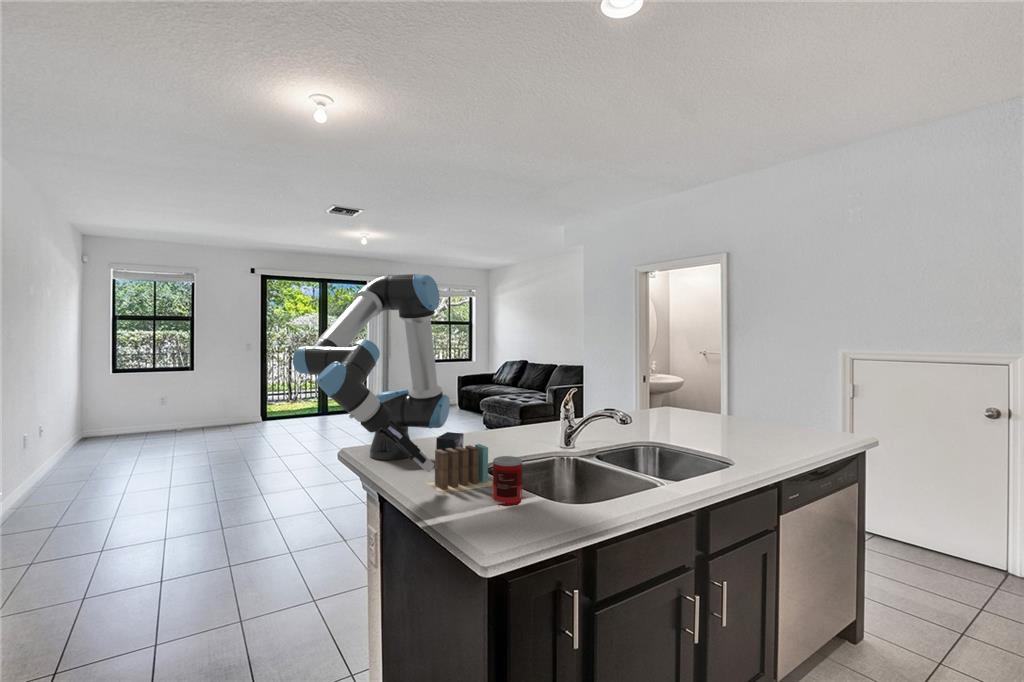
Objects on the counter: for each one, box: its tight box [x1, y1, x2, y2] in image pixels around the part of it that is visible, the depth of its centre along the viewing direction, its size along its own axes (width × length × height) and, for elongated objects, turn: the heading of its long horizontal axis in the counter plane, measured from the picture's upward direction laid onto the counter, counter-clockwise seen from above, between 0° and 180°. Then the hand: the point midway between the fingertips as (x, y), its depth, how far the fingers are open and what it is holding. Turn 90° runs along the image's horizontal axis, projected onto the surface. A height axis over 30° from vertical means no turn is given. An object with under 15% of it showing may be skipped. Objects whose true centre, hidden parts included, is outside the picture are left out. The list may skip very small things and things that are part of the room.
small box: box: [435, 431, 464, 451], centre depth 161 cm, size 11×6×10 cm, turn 168°
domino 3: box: [455, 446, 469, 486], centre depth 140 cm, size 5×2×10 cm, turn 33°
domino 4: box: [464, 444, 479, 484], centre depth 142 cm, size 5×2×10 cm, turn 33°
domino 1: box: [434, 449, 448, 490], centre depth 137 cm, size 5×2×10 cm, turn 33°
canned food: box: [492, 455, 523, 507], centre depth 128 cm, size 8×8×11 cm
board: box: [425, 478, 493, 495], centre depth 140 cm, size 12×17×1 cm
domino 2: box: [445, 448, 458, 488], centre depth 138 cm, size 5×2×10 cm, turn 33°
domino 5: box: [474, 443, 489, 483], centre depth 144 cm, size 5×2×10 cm, turn 33°
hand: (430, 467), depth 134 cm, fingers closed
